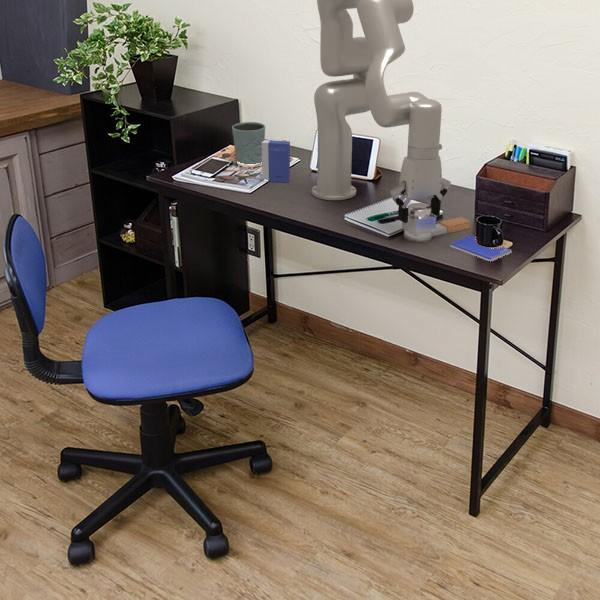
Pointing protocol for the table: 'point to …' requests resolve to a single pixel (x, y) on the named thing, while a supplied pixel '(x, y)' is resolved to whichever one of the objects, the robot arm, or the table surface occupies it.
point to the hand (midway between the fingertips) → (419, 218)
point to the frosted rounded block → (420, 219)
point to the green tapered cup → (248, 142)
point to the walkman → (276, 160)
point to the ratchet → (440, 229)
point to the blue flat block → (479, 249)
